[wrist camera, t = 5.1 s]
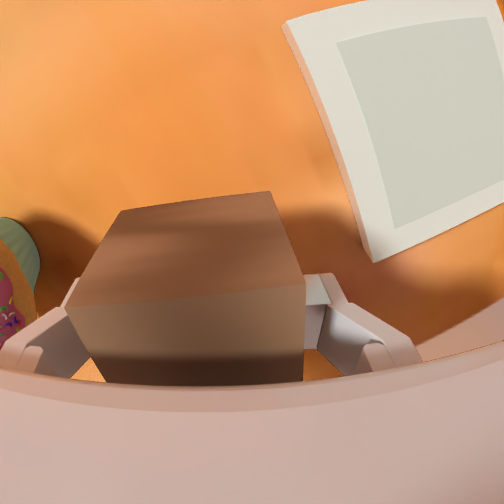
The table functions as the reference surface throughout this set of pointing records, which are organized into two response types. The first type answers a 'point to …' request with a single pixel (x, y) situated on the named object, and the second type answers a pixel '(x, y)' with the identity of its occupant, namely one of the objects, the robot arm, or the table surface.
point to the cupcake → (16, 278)
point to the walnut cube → (194, 296)
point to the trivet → (409, 111)
